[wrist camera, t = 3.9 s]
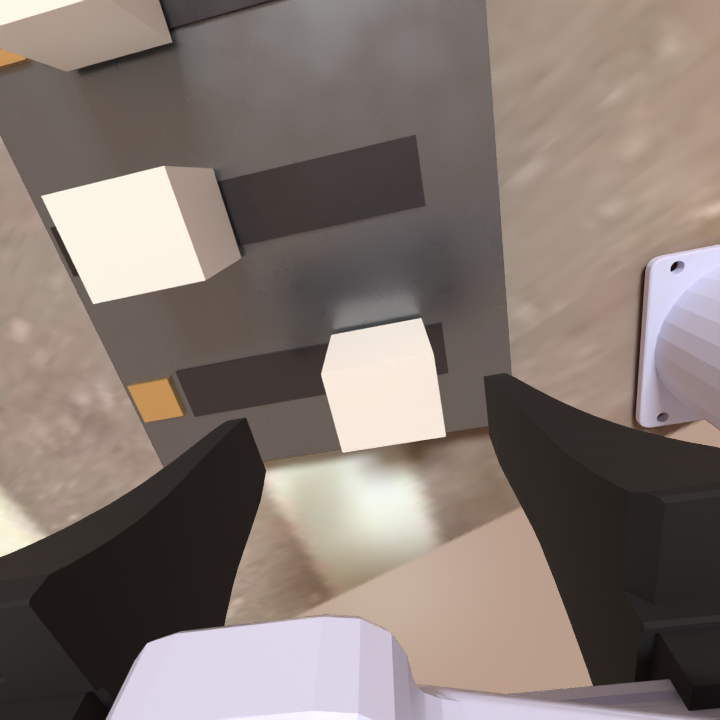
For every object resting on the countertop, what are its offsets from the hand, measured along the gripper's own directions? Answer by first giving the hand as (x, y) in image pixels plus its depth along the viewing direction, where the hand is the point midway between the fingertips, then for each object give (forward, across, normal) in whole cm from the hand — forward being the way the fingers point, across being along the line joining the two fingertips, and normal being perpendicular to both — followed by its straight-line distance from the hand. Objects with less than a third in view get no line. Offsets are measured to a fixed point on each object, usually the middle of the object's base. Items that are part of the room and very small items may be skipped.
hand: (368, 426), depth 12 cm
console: (+7, +2, -6) cm, 10 cm away
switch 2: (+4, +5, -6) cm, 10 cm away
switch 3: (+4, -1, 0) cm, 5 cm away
